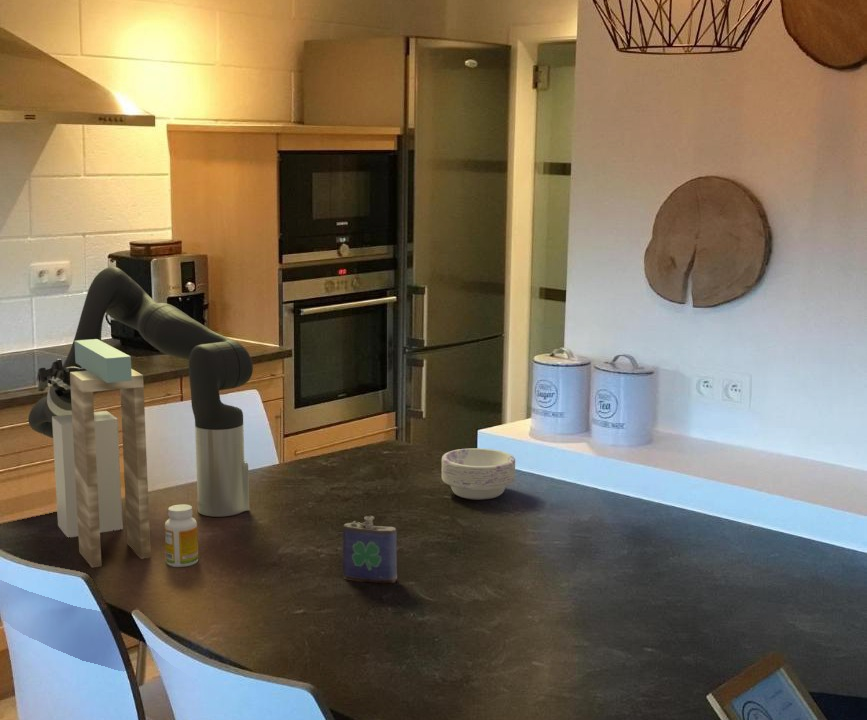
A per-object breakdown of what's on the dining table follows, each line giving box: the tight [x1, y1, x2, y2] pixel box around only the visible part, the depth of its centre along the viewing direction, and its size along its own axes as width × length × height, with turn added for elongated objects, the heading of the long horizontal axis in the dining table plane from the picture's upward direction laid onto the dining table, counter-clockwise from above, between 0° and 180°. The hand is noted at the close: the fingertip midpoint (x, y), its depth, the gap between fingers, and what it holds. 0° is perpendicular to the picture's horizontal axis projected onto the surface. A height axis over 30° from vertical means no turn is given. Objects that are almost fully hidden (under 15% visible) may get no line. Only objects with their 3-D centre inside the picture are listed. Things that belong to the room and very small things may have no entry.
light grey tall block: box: [52, 410, 124, 539], centre depth 210 cm, size 10×8×21 cm
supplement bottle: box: [164, 503, 199, 568], centre depth 192 cm, size 5×5×10 cm
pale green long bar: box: [73, 339, 132, 383], centre depth 193 cm, size 4×22×4 cm, turn 30°
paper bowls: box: [441, 447, 516, 501], centre depth 233 cm, size 15×15×8 cm
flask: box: [342, 515, 398, 584], centre depth 184 cm, size 9×3×11 cm, turn 74°
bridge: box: [70, 368, 152, 569], centre depth 194 cm, size 10×9×32 cm
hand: (84, 361), depth 204 cm, fingers open, 8 cm apart
